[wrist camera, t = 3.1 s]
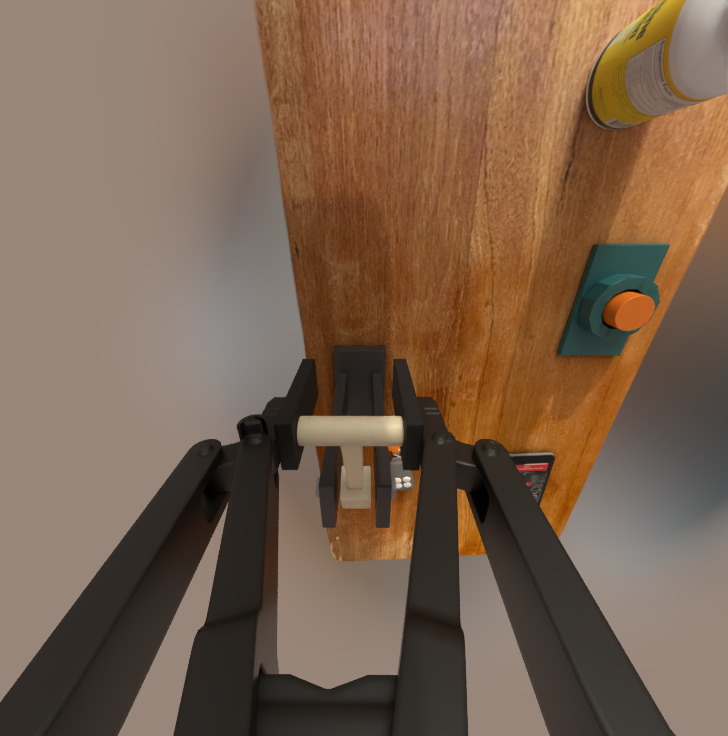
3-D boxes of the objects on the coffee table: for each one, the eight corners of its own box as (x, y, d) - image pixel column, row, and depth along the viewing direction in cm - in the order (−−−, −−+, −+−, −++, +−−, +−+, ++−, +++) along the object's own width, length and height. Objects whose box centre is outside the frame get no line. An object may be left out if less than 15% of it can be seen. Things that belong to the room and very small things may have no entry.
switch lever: (300, 401, 14) (293, 448, 13) (401, 402, 14) (405, 449, 13) (327, 476, 24) (324, 508, 22) (387, 477, 24) (388, 508, 22)
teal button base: (593, 244, 29) (612, 246, 26) (664, 243, 28) (689, 245, 26) (556, 353, 34) (569, 362, 32) (615, 353, 34) (632, 362, 32)
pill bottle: (679, 13, 21) (975, -183, 11) (656, 122, 24) (872, 49, 14) (586, 38, 22) (783, -124, 12) (575, 141, 25) (724, 86, 14)
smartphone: (556, 454, 40) (534, 522, 47) (553, 450, 41) (532, 518, 48) (504, 456, 41) (489, 523, 47) (501, 453, 41) (487, 519, 48)
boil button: (610, 291, 29) (624, 295, 27) (646, 291, 29) (662, 295, 27) (596, 325, 30) (609, 331, 29) (630, 325, 30) (645, 331, 29)
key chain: (415, 482, 44) (417, 490, 43) (391, 485, 45) (392, 493, 43) (406, 416, 38) (407, 423, 37) (379, 420, 39) (379, 427, 37)
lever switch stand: (334, 345, 34) (306, 455, 18) (385, 345, 34) (401, 456, 18) (338, 414, 38) (318, 550, 23) (382, 414, 38) (394, 550, 23)
